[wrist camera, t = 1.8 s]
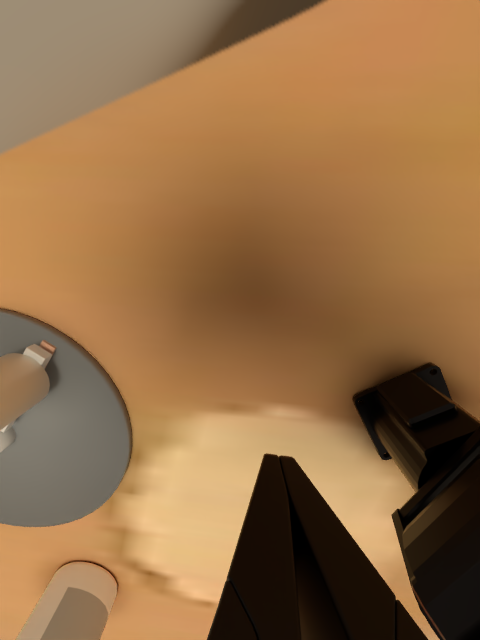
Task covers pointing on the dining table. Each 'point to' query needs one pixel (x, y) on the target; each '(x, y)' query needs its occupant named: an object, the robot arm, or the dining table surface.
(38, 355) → the tall cream cylinder
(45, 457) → the grey round platter
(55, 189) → the dining table surface
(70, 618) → the spray bottle
